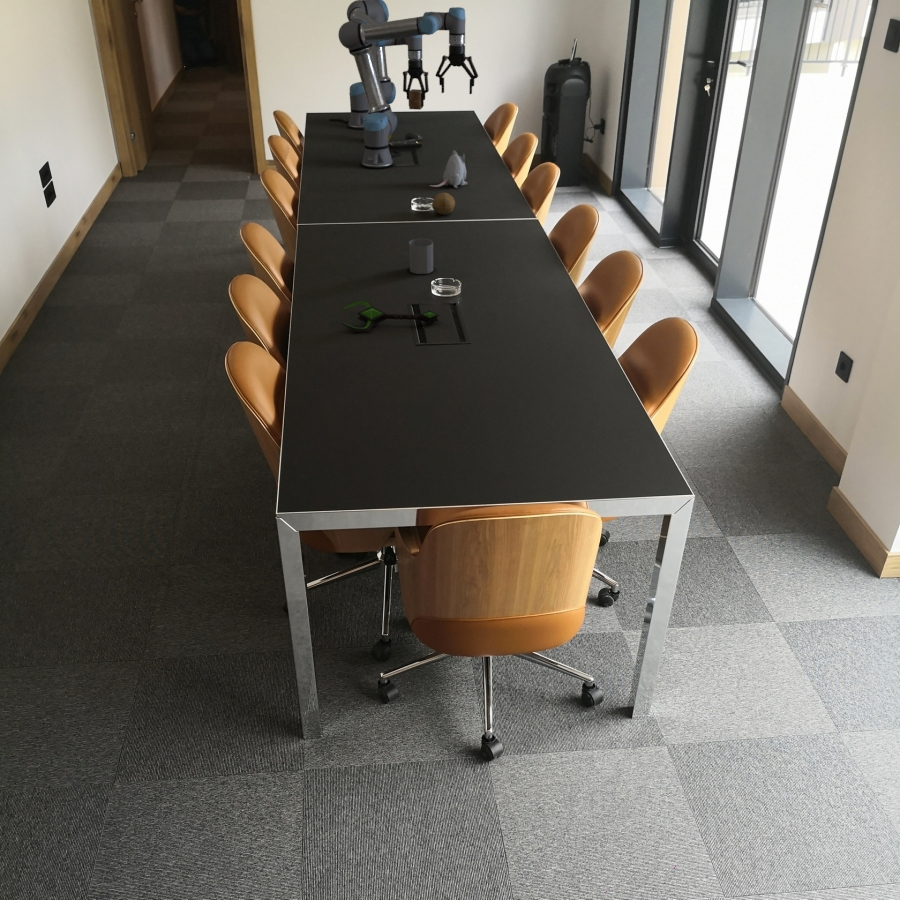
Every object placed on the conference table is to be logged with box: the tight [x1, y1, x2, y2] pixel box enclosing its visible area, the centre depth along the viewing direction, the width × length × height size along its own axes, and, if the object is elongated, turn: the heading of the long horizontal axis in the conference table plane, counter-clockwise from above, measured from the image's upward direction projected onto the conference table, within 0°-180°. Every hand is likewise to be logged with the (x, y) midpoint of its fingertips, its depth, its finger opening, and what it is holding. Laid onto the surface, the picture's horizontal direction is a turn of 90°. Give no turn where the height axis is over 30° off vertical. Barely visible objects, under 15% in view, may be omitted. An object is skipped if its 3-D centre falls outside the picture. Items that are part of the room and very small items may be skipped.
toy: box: [428, 149, 468, 189], centre depth 390 cm, size 9×24×15 cm, turn 137°
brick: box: [408, 88, 424, 111], centre depth 463 cm, size 6×7×9 cm
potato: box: [431, 192, 456, 216], centre depth 360 cm, size 10×14×8 cm
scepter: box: [341, 300, 440, 333], centre depth 268 cm, size 6×13×30 cm
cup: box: [408, 237, 434, 275], centre depth 305 cm, size 8×8×10 cm
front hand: (456, 93), depth 415 cm, fingers open, 13 cm apart
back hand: (416, 106), depth 465 cm, fingers closed on brick, 6 cm apart
